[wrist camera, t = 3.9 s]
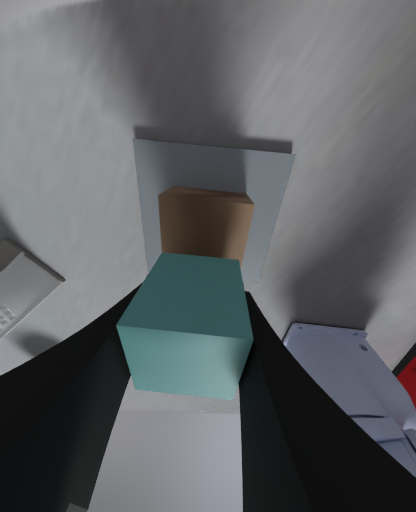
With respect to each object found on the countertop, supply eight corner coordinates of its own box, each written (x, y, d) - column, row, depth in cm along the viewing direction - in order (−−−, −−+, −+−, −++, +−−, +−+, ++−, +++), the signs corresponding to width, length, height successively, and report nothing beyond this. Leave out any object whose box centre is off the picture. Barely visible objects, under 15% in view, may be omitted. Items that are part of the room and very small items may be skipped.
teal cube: (238, 259, 10) (253, 340, 5) (228, 313, 12) (232, 400, 8) (161, 252, 10) (116, 325, 6) (165, 307, 12) (135, 389, 8)
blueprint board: (291, 154, 13) (295, 154, 12) (256, 278, 19) (257, 283, 18) (137, 139, 13) (132, 138, 12) (150, 267, 19) (147, 271, 18)
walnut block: (246, 193, 14) (254, 204, 10) (234, 256, 17) (237, 281, 13) (173, 186, 14) (158, 194, 10) (174, 250, 17) (162, 273, 13)
